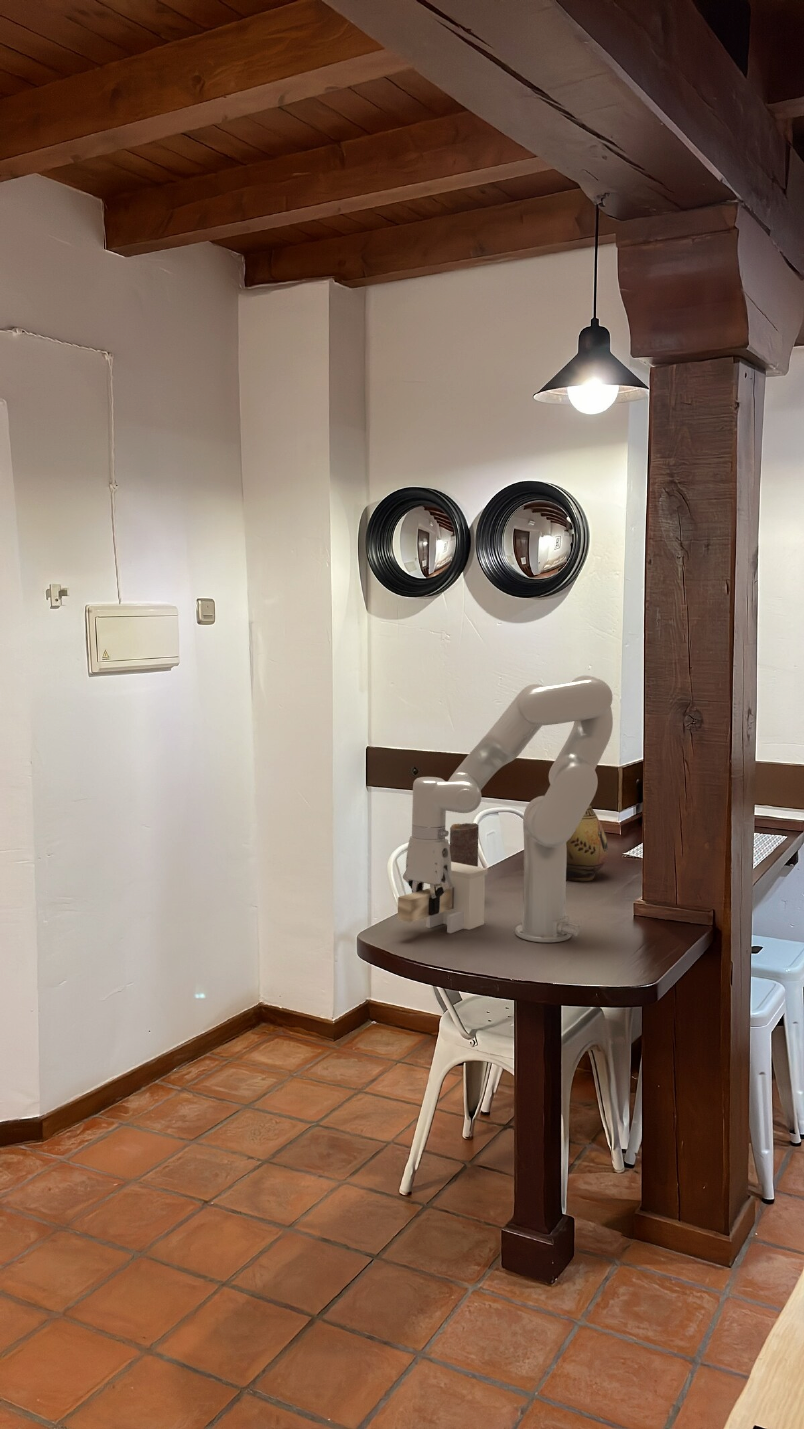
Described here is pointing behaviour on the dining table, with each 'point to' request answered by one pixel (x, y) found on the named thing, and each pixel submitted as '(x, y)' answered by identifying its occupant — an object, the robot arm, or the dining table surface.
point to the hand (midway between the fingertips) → (426, 911)
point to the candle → (464, 843)
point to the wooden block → (422, 904)
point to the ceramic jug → (586, 848)
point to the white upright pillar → (463, 899)
